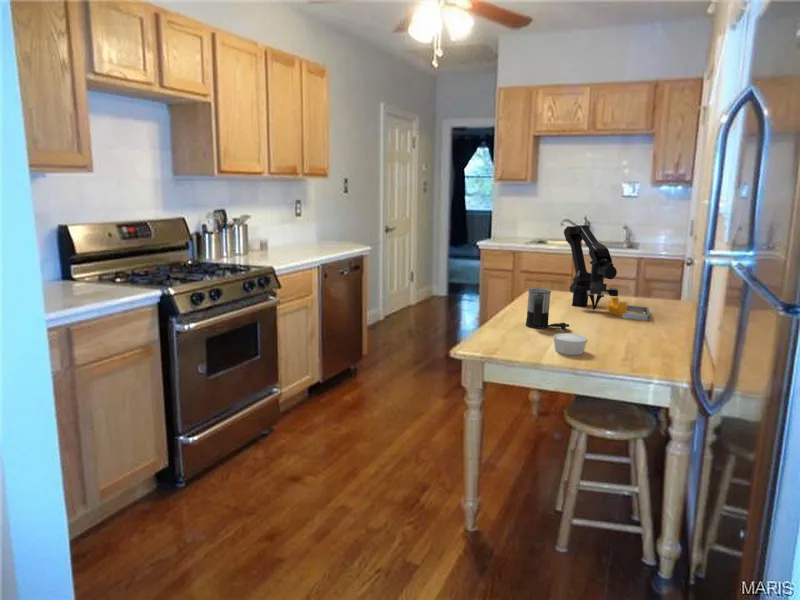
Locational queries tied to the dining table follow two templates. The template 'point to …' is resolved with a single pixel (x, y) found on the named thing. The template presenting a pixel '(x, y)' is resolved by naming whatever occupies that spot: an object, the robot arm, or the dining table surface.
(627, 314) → the rail bay
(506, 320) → the dining table surface
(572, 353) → the ramekin
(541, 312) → the milk frother
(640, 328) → the dining table surface
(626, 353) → the dining table surface
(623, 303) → the pipe clamp
